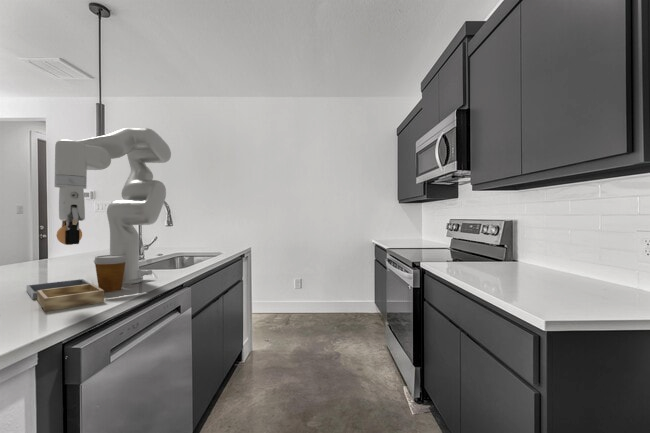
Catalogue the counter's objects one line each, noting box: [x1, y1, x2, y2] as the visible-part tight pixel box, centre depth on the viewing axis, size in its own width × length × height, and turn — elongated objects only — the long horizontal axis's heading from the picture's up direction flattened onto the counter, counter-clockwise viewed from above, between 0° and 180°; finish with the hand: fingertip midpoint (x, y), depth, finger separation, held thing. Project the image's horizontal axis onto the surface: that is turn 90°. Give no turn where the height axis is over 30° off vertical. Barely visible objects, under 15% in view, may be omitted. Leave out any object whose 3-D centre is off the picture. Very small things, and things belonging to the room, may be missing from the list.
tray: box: [36, 283, 105, 312], centre depth 97 cm, size 14×14×4 cm
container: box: [26, 278, 92, 301], centre depth 108 cm, size 15×15×2 cm
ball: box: [56, 225, 83, 246], centre depth 97 cm, size 6×6×6 cm
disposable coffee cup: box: [93, 254, 127, 293], centre depth 111 cm, size 10×10×12 cm
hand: (69, 242), depth 97 cm, fingers closed on ball, 6 cm apart
